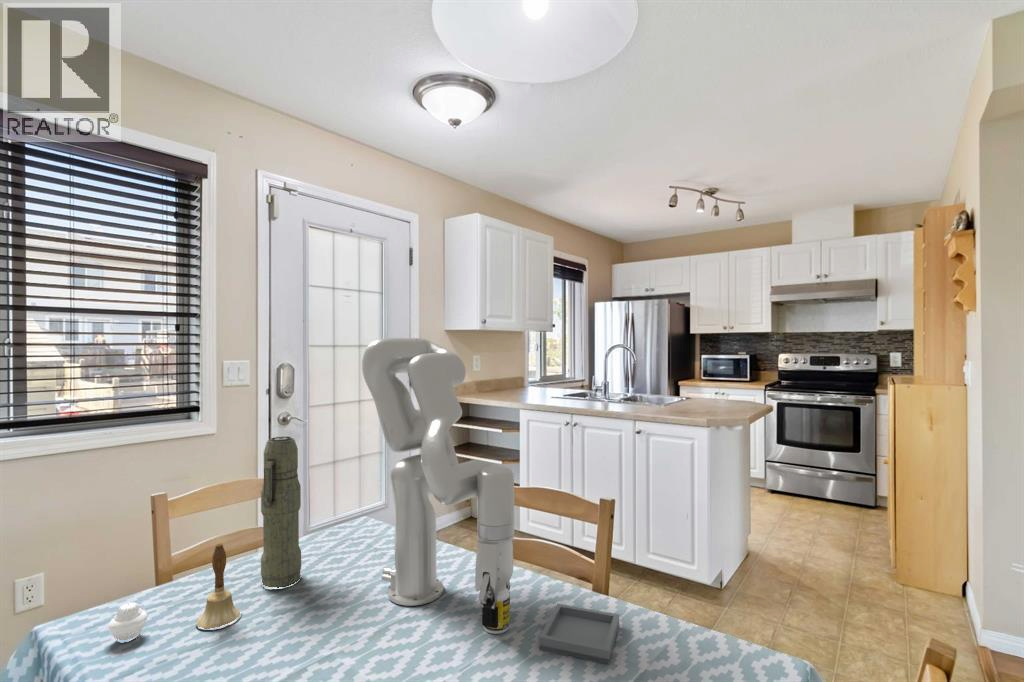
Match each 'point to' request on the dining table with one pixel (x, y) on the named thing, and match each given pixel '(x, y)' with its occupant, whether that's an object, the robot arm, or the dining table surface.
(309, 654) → the dining table surface
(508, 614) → the supplement bottle
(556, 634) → the tray
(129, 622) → the white tiered dome
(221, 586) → the hand bell
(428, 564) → the robot arm
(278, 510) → the thermos
